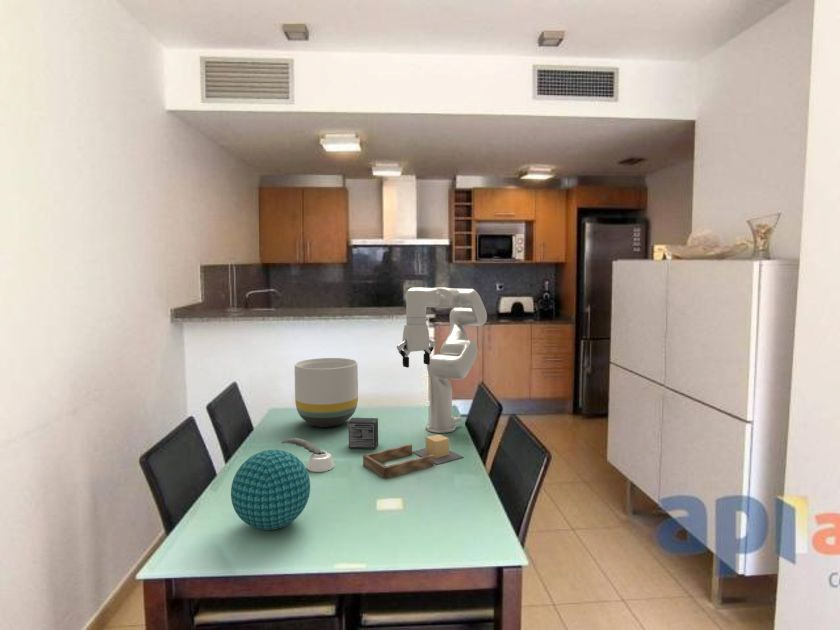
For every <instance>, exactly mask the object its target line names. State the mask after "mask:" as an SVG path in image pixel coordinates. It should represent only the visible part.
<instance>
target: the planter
mask: <svg viewBox="0 0 840 630" xmlns="http://www.w3.org/2000/svg"><path fill="white" fill-rule="evenodd" d="M358 367H359V366H358V361H356V359H355V360H354V359H350V358H343V357H320V358H319V357H318V358H310V359H304V360H300V361H297V362H295V364H294V399H295V400H294V401H295V403H294V404H295V407H296V411H297V413H298V415H299V416H300V418H301V419H302V420H303V421H305V422H306V423H308V424H309V425H312V426H315V427H320V428H329V427H330V428H331V427H336V426H340V425H341V424H345V422H347V421H349V420H350V419H351V418H352V416H353V415H354V414H355V412H356V410H357V408H358V407H357V406H358V404H359V403H358V401H359V381H358V380H359V379H358V377H359V373H358V372H359V371H358Z"/></svg>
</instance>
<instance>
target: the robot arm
mask: <svg viewBox="0 0 840 630" xmlns="http://www.w3.org/2000/svg"><path fill="white" fill-rule="evenodd" d="M405 302H406V313H405V314H406V318H405V319H406V324H404V326H403V330H402V331H403V332H402V340H401V341H402V342H399V343H398V344H397V345H396V349H397V350H398V353H399V355H401V357H402V367H404V368H409V367H410V357H409V355H410V353H411V352H420V351H423V352H424V353H423V364H425V365H426V370H427V376H428V383H429V385H428V387H429V389H428V390H429V395H428V396H429V397H428V398H429V399H428V400H429V403H428V404H429V406H428V407H429V409H428V410H429V411H428V412H429V414H428V415H429V417H428V418H429V419H428V420H429V422H428V423H427V424H426V425H425V430H426V431H428V432H431V433H435V434H436V433H437V434H447V433H452V432H454V431H455V430H456V424H455V423H459V422H461V421H462V419H461V417H460V416H457V417H454V416H453V387H452V383H451V381H450V380H449V379H451V380H463V379H465V378H466V377H467V375H468V374H469V372H470V370H471V368H472V367H473V366H474V363H475V361H476V359H477V358H478V357H477V356H478V346H477V343H476V342H475V341H474V340H471V339H469V335H468V332H467V330H466V329H465V327H464V326H468V327H469V326H471V327H481V326H483V325H485V324H486V322H487V321H488V313H487V311H486V310H487V309H486V307H485V306H484V303H483V300H482V298H481V296H480V294H479V293H478V291H477V290H475V289H473V288H456V287H455V288H453V287H452V288H451V287H410V288H408V290H406V293H405ZM427 308H437V309H451V310H450V312H449V324H450V325H449V327H450V329H449V331H450V332H449V334H448V335H447V337H446V339H445V341H443V343H442V345H441V347H440V349H439V350H440V351H439V353H440V354H433V355H432V352H433V350H434V347H435V345H436V342H435V341H433V340H432V339H430V332H429V326H428V324H427V322H428V321H429V317H427Z"/></svg>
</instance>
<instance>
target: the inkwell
mask: <svg viewBox="0 0 840 630" xmlns="http://www.w3.org/2000/svg"><path fill="white" fill-rule="evenodd" d="M281 444H291V445H296V446H297V447H301V448H304V449H305V450H307V451H308V453H312V454H310V455H309V458H308V461H307V466H306V470H307V471H310V472H314V473H325V472H327V471H328V470H329V471H330V470H333V468H335V463H334V460H333V457H332V454H331V453H329V452H327V450H321V449H320V448H318V446H316V445H315V444H313V443H312V442H310V441H308V440H306V439H302V438H297V437H296V438H295V437H294V438H288V439H284V440H283V441H282V442H281Z"/></svg>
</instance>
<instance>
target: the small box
mask: <svg viewBox="0 0 840 630" xmlns="http://www.w3.org/2000/svg"><path fill="white" fill-rule="evenodd" d="M378 445H379V417H378V418H377V417H374V418H373V417H350V418H349V419H348V449H349V448H350V449H352V450H353V449H354V450H355V449H356V450H362V449H363V450H376V449H377V448H378Z"/></svg>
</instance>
